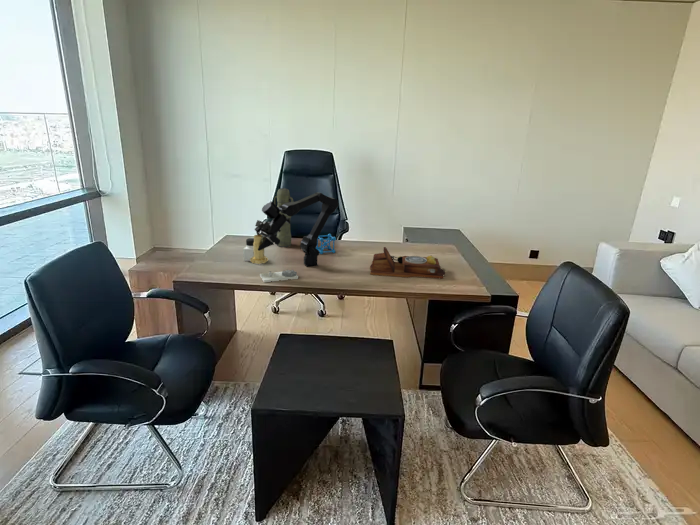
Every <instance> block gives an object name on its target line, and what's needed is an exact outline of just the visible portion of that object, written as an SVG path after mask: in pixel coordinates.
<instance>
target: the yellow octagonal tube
mask: <svg viewBox="0 0 700 525" xmlns="http://www.w3.org/2000/svg"><path fill="white" fill-rule="evenodd" d="M253 238H254V243H253V251H254V256H253V257H252V258H250V261H249V262H251V263H252V264H257V265H260V264H267V262H269V257H267V256H266V255H265V248H264V249H262V250H260V251H259V250H258V248H259V246H260V245H261V243H262V242H263V236H262V235H257V234H255V235H254V236H253Z"/></svg>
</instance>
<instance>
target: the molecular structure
mask: <svg viewBox="0 0 700 525" xmlns="http://www.w3.org/2000/svg"><path fill="white" fill-rule="evenodd" d="M323 237H327V238H323ZM336 240H337V237H336V236H332V234H331V233H328V234H326V235H323V234H322V235H319V236H318V238H317V246H316V249H317V250H318V251H319V252H320V253H319V255H323V254H324V253H326V254H327V253H332V254H335V253H336V249H335V242H336ZM319 242H320V246H319ZM331 242H332V246H331ZM324 249H325V250H326V249H327V250H326V251H325V250H324Z"/></svg>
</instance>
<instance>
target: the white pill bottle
mask: <svg viewBox="0 0 700 525" xmlns="http://www.w3.org/2000/svg"><path fill="white" fill-rule="evenodd" d="M253 243H254V237H248V238H247V239H246V240H245V247H243V261H244V262H250V258H252V257H253V256H254V251H253Z"/></svg>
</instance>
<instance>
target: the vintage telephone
mask: <svg viewBox="0 0 700 525" xmlns="http://www.w3.org/2000/svg"><path fill="white" fill-rule="evenodd" d="M440 265H441V264H440V262H439V259H438V258H437V257H434V256H433V255H428V256H426V257H425V256H419V255H402V256H401V255H400V256H394V255H391V254H390V251H388V248H387V247H385V246H384V247H383V252H379V253H374V254H373V258H372V262H371V264H370V265H369V270H370V272H369V275H371V276H380V277H393V278H394V277H395V278H396V277H397V278H408V279H409V278H412V277H413V278H414V277H416V278H426V279H439V278H440V280H441V279H444V276H445V275H446V274H445V273H446V271H445V270H444V269H442V267H441V266H440ZM443 275H444V276H443Z"/></svg>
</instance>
